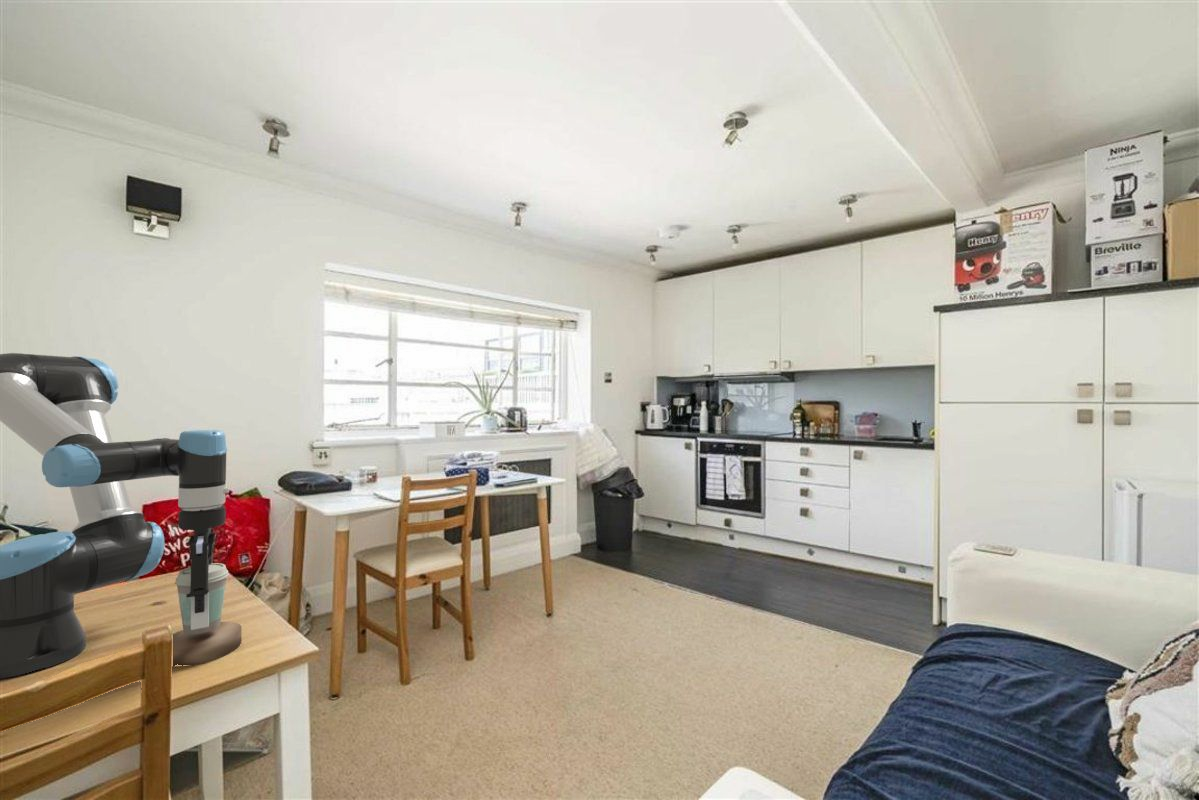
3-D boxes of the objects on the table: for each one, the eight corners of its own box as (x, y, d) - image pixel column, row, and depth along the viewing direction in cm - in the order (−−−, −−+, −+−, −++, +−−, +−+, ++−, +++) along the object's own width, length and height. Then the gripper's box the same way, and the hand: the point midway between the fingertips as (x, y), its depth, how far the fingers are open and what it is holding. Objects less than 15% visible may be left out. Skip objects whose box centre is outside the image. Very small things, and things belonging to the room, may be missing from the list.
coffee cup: (169, 629, 102) (170, 569, 102) (221, 615, 109) (221, 559, 109) (180, 642, 97) (180, 579, 97) (234, 627, 103) (234, 567, 103)
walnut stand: (145, 671, 94) (145, 655, 94) (178, 640, 107) (178, 626, 107) (227, 660, 99) (228, 645, 99) (250, 632, 111) (250, 618, 111)
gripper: (222, 513, 96) (221, 634, 96) (228, 497, 113) (227, 599, 113) (170, 518, 92) (170, 645, 92) (185, 500, 109) (184, 607, 109)
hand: (202, 619), depth 103 cm, fingers closed on coffee cup, 8 cm apart
